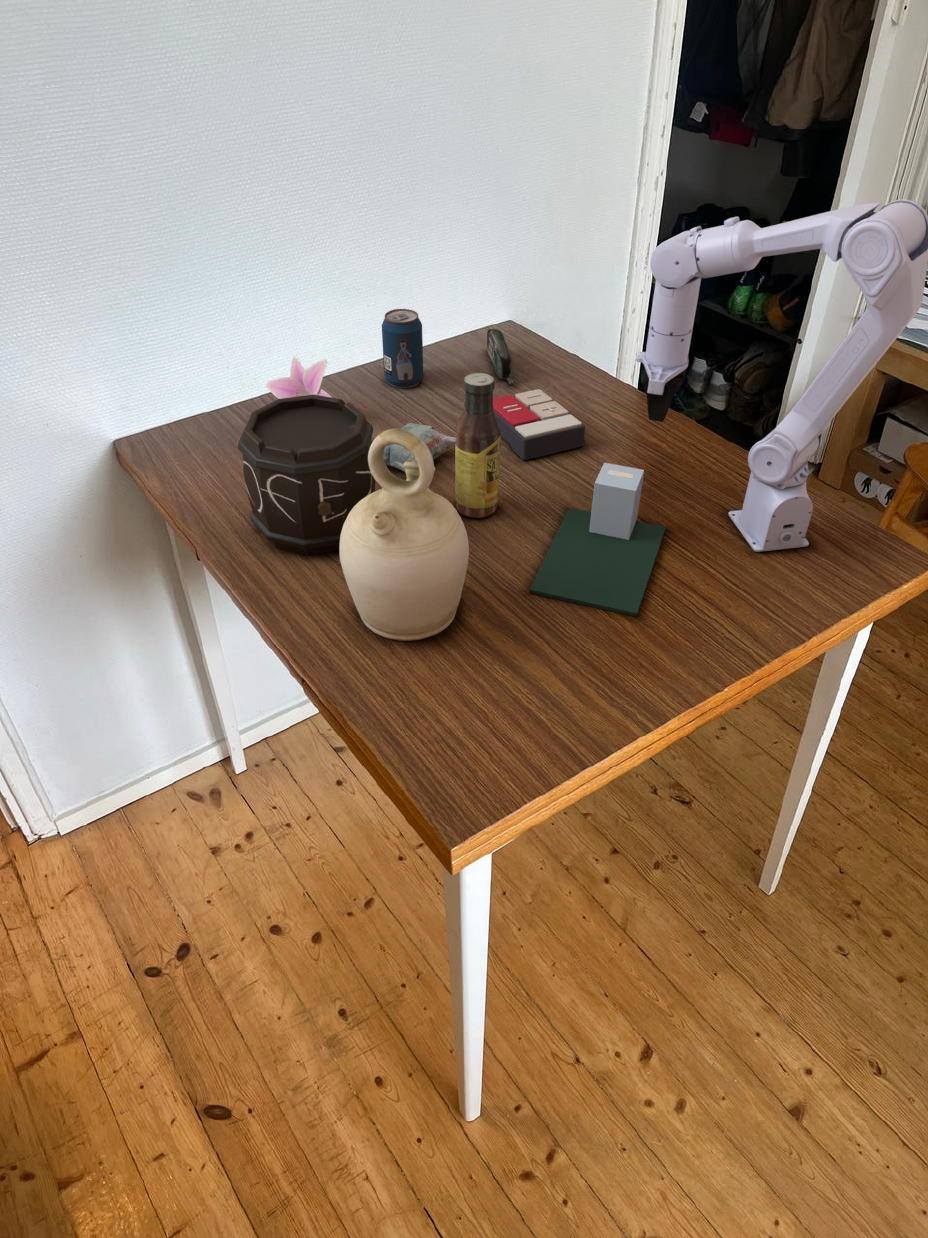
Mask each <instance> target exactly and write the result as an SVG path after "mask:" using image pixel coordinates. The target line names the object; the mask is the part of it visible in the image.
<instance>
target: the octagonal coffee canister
mask: <svg viewBox="0 0 928 1238" xmlns="http://www.w3.org/2000/svg"><path fill="white" fill-rule="evenodd" d="M331 397H332V396H331ZM331 397H325V396H320V395H306V396H298V397H290V398H282V399H278V398H277V399H276V400H274V401H271V402H270V403H267V404H266V405H263V406H262V407H260V408H257V409H256V410H253V411H252V412H251V413H250V416H249V417H248V418H249V419H248V421H246V424H245V426H244V428H243V430H242V433H241V434H240V438H239V440H238V442H237V443H238V444H237V449H238V450H239V451H240V452H241V454H242V468H243V469H242V471H243V477H244V483H245V489H246V495H247V498H248V501H249V505H250V507H251V512H250V515H249V519H250V521H251V523H252V524H253V525H254V526H255V527H256V528H257V530H258V531H259V532H260V533H261V534H262V535H263V536H264V537H265V538H266V539H267V540H268V542H270V543H271V544H272V546H274V548H275V549H279V550H284V551H289V552H292V553H297V554H300V555H301V554H302V555H306V556H309V555H310V556H311V555H317V554H323V553H329V552H334V551H335V552H336V551H340V536H341V531H342V528H343V525H344V523H345V520H346V519H347V516H348V514H349V513H350V511H351V510H352V509H353V507H354V506H355V505H356V504H357V503H358V502H359V501H361V500H362V499H363V498H365V497H366V496H368V495H370V494H371V493H373V492H375V491H376V483H377V481H376V480H375V479H374V477H373V475H372V473H371V471H370V468H369V464H368V453H369V449H370V446H371V444H372V442H373V440H372V438H373V435H374V434H373V433H374V427H373V425H372V424H371V423H370V422H369V421H368V420H367V418H366V415H365V414H364V413H363V412H362V411H360V410H359V408H357V407H355V405H353V404H352V403H351V402H347V403H346V402H345V401H344V400H343V399H342V398H336V397H332V398H331Z"/></svg>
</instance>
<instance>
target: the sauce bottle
mask: <svg viewBox="0 0 928 1238" xmlns="http://www.w3.org/2000/svg"><path fill="white" fill-rule="evenodd" d="M463 389H464V404H463V405H464V406H463V407H464V410H463V412H462V414H461V416H459V418H458V421H457V423H456V428H455V437H456V442H455V445H454V447H455V449H454V452H455V453H454V456H455V457H454V458H455V459H454V461H455V462H454V477H455V478H454V499H455V509H456V510H457V512H458V513H459V514H460V515H462V516H464V517H468V518H473V519H482V518H486V517H489V516H491V515H492V514H494V513H495V512H496V510H497V508H498V501H499V498H500V495H499V494H500V472H501V443H502V436H501V432H500V429H499V426H498V423H497V420H496V417H495V414H494V411H493V399H494V390H495V378H494V377H493V376H492V375H490V374H487V373H484V372H475V373H470V374H467V375H466V376H464V378H463Z"/></svg>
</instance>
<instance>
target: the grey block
mask: <svg viewBox="0 0 928 1238" xmlns="http://www.w3.org/2000/svg"><path fill="white" fill-rule="evenodd" d="M644 476H645V469H641V468H636V467H630V466H626V465H619V464H614V463H608V462H604V463H603V464H602V466H601V468H600V471H599V473H598V475H597V477H596V479H595V481H594V485H593V486H594V487H593V495H592V502H591V511H590V512H591V520H590V529H589V532H592V533H597V534H601V535H606V536H611V537H616V538H621V539H626V540H629V538H630V536H631V533H632V530H633V528H634V525H635V523H636V521H638V515H639V508H640V501H641V496H642V489H643V488H642V487H643V483H644Z"/></svg>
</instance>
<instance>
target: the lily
mask: <svg viewBox="0 0 928 1238" xmlns="http://www.w3.org/2000/svg"><path fill="white" fill-rule="evenodd" d="M327 366H328V359H322V360H318V361H317V362H315V363H313V364H312V365H310V366H309V367H307V368H306V369H305V368H304V366H303V365H302V363H301V361H300V360H299V358H298V357H297V356H293V358H292V360H291V364H290V371H289V372H290V373H289V374H290V375H289V377H288V376H284V377H279V378H275V379H272V380H269V381H268V382H266V384H265V388H266V389H267V390H268V391H269V392H270V393H271V394H272V395H273V396H274V397H275V398H277V400H278V399H282V398H290V397H298V396H306V395H320V396H325V397H331V398H333V397H332V395H330V394H329V393H328V392H327V391H326V390H324V389H322V388H321V385H322V382H323V378H324V375H325V372H326V370H327Z"/></svg>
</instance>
